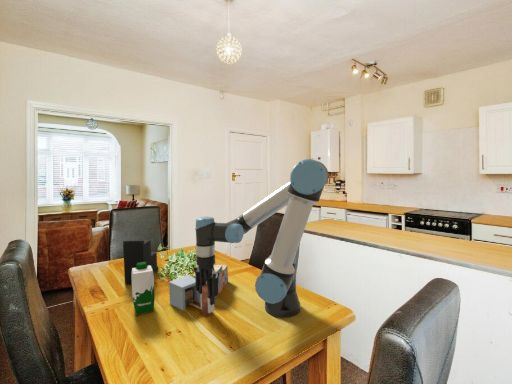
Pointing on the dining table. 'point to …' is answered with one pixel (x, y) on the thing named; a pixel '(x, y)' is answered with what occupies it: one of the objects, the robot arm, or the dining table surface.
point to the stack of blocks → (221, 276)
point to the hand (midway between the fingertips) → (207, 309)
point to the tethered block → (204, 299)
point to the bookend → (137, 256)
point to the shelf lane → (182, 291)
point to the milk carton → (143, 288)
